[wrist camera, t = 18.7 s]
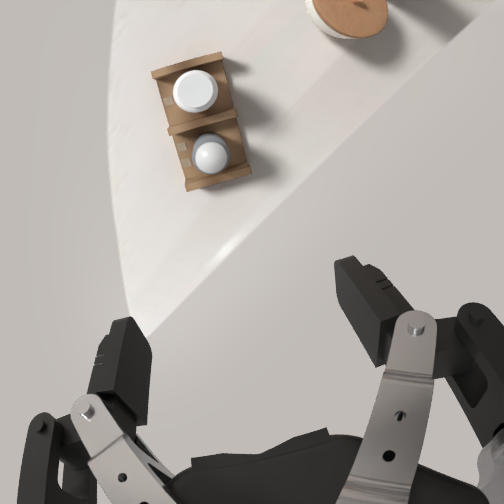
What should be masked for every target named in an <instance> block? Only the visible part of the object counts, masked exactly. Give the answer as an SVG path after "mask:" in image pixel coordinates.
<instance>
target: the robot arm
mask: <svg viewBox="0 0 504 504" xmlns="http://www.w3.org/2000/svg"><path fill="white" fill-rule="evenodd" d="M334 269H335V281H336V293H337V298H338V301H339V304H340V306H341V308H342V310H343V311H344V313H345V315H346V317H347V318H348V320H349V322H350V323H351V325H352V327H353V329H354V330H355V332H356V334H357V335H358V337H359V339H360V341H361V342H362V344H363V346H364V348H365V349H366V351H367V353H368V355H369V356H370V358H371V360H372V362H373V363H374V365H375V367H379V366H381V365H384V364H385V365H386V369H385V372H384V373H383V377H382V380H381V383H380V387H379V391H378V394H377V397H376V401H375V404H374V407H373V410H372V414H371V417H370V420H369V423H368V426H367V429H366V432H365V435H364V438H361V437H357V436H351V435H329V433H328V430H327V428H323V429H320V430H317V431H314V432H310V433H307V434H304V435H301V436H297V437H293V438H291V439H289V440H287V441H286V442H283V443H282V444H280V445H278V446H276V447H274V448H272V449H269V450H267V451H265V452H263V453H261V454H227V453H226V454H225V453H222V454H216V455H209V456H203V457H196V458H191V464H192V467H190V468H187V469H185V470H183V471H182V472H180V473H179V474H177V475H176V476H175V475H174V474H172V473H171V472H170V471H169V470H168V469H167V468H166V467H165V466H164V465H163V464H162V463H161V462H160V461H159V459H157V457H156V456H155V455H154V454H153V452H152V451H151V450H150V449H149V448H148V446H147V445H146V444H145V443H144V442H143V440H142V439H141V438H140V437H139V435H138V434H136V426H142V425H147V414H148V399H149V386H150V374H151V363H152V352H151V348H150V345H149V343H148V341H147V340H146V338H145V336H144V335H143V333H142V332H141V330H140V328H139V327H138V325H137V323H136V322H135V320H134V319H133V318H132V317H126V318H122V319H118V320H114V321H113V322H112V326H111V329H110V333H109V335H106V336H105V337H104V339H103V340H102V342H101V343H100V345H99V347H98V351H97V357H96V358H95V362H94V364H95V366H93V370H92V374H91V379H90V382H89V387H88V392H87V395H84V396H82V397H80V398H79V399H78V400H77V401H76V402H75V403H74V405H73V407H72V409H71V414H69V415H66V416H63V417H61V418H58V419H55V418H54V417H53V416H51V415H50V414H49V413H46V412H43V413H40V414H38V415H37V416H35V417H34V418H33V420H32V421H31V423H30V425H29V429H28V433H27V438H26V443H25V448H24V454H23V459H22V465H21V473H20V479H19V487H18V497H17V504H97V481H98V482H99V484H100V486H101V487H102V489H103V490H104V492H105V494H106V495H107V496H108V498H109V499H110V501H111V503H112V504H504V326H503V325H502V323H501V322H500V321H499V320H498V319H497V318H496V316H495V315H494V314H493V313H492V312H491V310H490V309H489V308H487V307H486V306H484V305H482V304H480V303H474V302H473V303H467V304H465V305H463V306H462V307H461V308H460V309H459V311H458V314H457V317H450V318H444V319H434V318H433V317H432V316H431V315H429V314H428V313H426V312H423V311H418V310H414V309H413V308H412V307H411V305H410V304H409V303H408V302H407V300H406V299H405V298H404V297H403V296H402V294H401V293H400V292H399V291H398V290H397V289H396V287H395V286H393V284H392V283H391V282H390V280H388V279H387V277H386V276H385V275H384V274H383V272H382V271H381V270H380V269H378V268H376V267H374V266H372V265H370V264H368V265H365V266H362V264H361V263H360V262H359V261H358V260H357V258H356V257H355V256H350V257H346V258H343V259H340V260H336V261H335V263H334ZM443 377H445V379H446V381H447V382H448V384H449V386H450V387H451V389H452V391H453V393H454V394H455V396H456V398H457V400H458V402H459V403H460V405H461V407H462V409H463V411H464V413H465V414H466V416H467V418H468V420H469V422H470V424H471V426H472V428H473V430H474V432H475V433H476V435H477V437H478V439H479V441H480V444H481V446H482V447H483V449H482V450H481V452H480V454H479V456H478V462H477V465H478V470H479V476H480V478H479V483H478V486H477V487H475V486H473V485H471V484H468V483H466V482H463V481H460V480H457V479H455V478H452V477H450V476H447V475H445V474H442V473H440V472H437V471H435V470H432V469H430V468H427V467H425V466H423V465H420V464H418V461H419V457H420V454H421V450H422V446H423V441H424V437H425V432H426V428H427V423H428V418H429V413H430V407H431V401H432V394H433V389H434V379H437V378H443ZM59 460H60V461H61V462H63V463H64V471H63V483H62V489H61V488H60V486H59V484H58V467H59Z"/></svg>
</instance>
